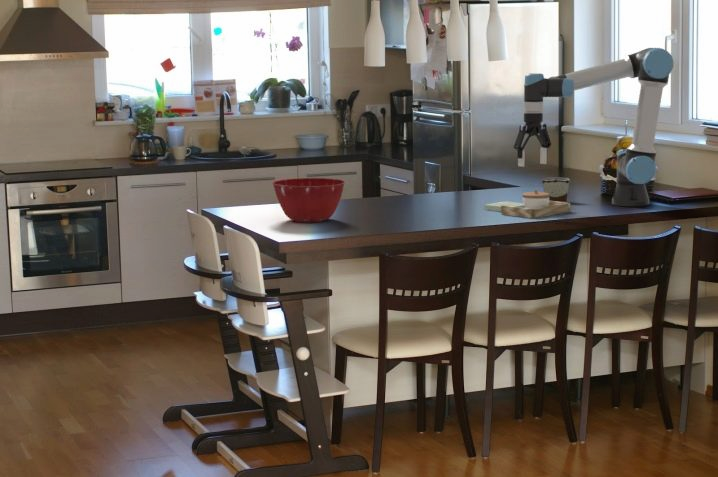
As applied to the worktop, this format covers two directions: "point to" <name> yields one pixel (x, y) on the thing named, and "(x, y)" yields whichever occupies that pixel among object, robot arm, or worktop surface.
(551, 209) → the cradle
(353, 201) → the worktop surface
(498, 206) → the trivet
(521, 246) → the worktop surface
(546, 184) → the food container
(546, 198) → the lidded jar
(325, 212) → the mixing bowl
